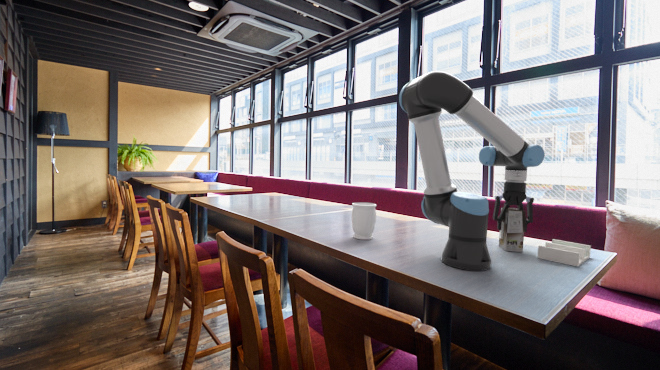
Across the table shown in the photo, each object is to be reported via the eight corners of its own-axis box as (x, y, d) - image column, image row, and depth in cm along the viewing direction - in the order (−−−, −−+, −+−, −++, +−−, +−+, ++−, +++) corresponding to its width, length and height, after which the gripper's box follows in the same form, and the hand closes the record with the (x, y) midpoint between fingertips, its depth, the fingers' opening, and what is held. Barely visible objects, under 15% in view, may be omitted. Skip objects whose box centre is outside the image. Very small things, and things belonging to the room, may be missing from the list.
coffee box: (523, 252, 124) (526, 211, 123) (505, 251, 125) (508, 210, 124) (514, 246, 133) (517, 207, 132) (498, 245, 134) (500, 206, 133)
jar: (349, 239, 136) (350, 204, 135) (352, 234, 146) (353, 201, 145) (374, 241, 134) (376, 205, 133) (375, 235, 144) (377, 202, 143)
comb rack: (537, 257, 117) (538, 245, 117) (551, 250, 129) (552, 239, 128) (578, 266, 108) (579, 253, 108) (589, 257, 120) (590, 245, 119)
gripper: (490, 181, 126) (486, 239, 128) (547, 183, 121) (542, 243, 123) (486, 180, 133) (482, 234, 135) (539, 182, 128) (534, 238, 130)
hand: (510, 238), depth 129 cm, fingers closed on coffee box, 7 cm apart
